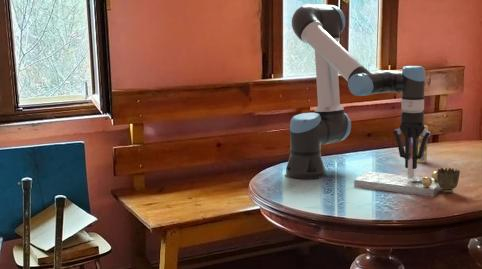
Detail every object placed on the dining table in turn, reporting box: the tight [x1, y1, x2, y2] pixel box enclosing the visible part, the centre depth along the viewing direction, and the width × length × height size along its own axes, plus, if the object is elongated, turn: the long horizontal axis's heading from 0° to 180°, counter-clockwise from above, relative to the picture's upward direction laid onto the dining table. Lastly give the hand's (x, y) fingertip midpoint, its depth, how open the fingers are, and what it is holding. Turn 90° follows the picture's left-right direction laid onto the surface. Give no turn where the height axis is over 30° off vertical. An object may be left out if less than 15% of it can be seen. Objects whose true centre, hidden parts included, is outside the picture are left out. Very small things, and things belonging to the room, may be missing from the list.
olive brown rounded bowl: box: [436, 167, 461, 195], centre depth 213 cm, size 8×7×8 cm
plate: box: [353, 171, 443, 198], centre depth 222 cm, size 28×14×2 cm, turn 59°
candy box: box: [410, 124, 429, 164], centre depth 260 cm, size 9×4×15 cm, turn 13°
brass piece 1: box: [422, 176, 432, 187], centre depth 212 cm, size 3×3×3 cm
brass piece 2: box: [430, 170, 438, 181], centre depth 220 cm, size 3×3×3 cm
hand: (410, 177), depth 220 cm, fingers closed
